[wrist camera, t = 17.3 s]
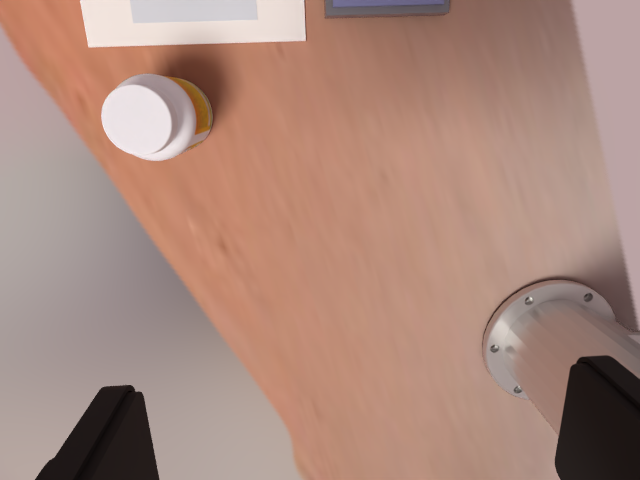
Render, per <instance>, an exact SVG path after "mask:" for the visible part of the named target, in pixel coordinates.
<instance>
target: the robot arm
mask: <svg viewBox="0 0 640 480" xmlns="http://www.w3.org/2000/svg"><path fill="white" fill-rule="evenodd" d="M482 349H483V359H484V362H485V365H486V368H487V370H488V371H489V373H490V375H491V376H492V378H493V379H494V380H495V382H496V383H497V384H498V385H499V386H500V387H501V388H502V389H504V390H505V391H506V392H508V393H509V394H511V395H513V396H515V397H519V398H522V399H526V400H531V402H532V403H533V404H534V405H535V407H536V408H537V409H538V410H539V412H540V413H541V414H542V416H543V417H544V418H545V419H546V421H547V422H548V423H549V424H550V426H551V427H552V428H553V430H554V431H555V432H556V433H557V435H558V436H559V438H558V444H557V450H556V456H555V467H556V471H557V473H558V476H559V477H560V479H561V480H640V331H635V332H630V331H629V330H627V329H626V328H624V327H623V326H622V325H620V324H619V323H617V322H616V318H615V315H614V313H613V310H612V308H611V306H610V305H609V304H608V302H607V301H606V300H605V299H604V298H603V297H602V296H601V295H600V294H598V293H597V292H596V291H594V290H592V289H591V288H589V287H587V286H586V285H583V284H580V283H578V282H575V281H568V280H548V281H544V282H540V283H536V284H533V285H531V286H529V287H526V288H524V289H522V290H520V291H519V292H517V293H516V294H514V295H512V296H511V297H510V298H509V299H508V300H507V301H505V302H504V303H503V304H502V305H501V306H500V308H499V309H498V310H497V311H496V312H495V313H494V315H493V317H492V318H491V320H490V322H489V324H488V326H487V329H486V331H485V334H484V339H483V346H482ZM35 480H159V475H158V470H157V465H156V459H155V455H154V449H153V443H152V438H151V433H150V428H149V422H148V417H147V412H146V407H145V401H144V396H143V394H142V392H135V389H134V387H133V386H131V385H123V386H107V387H103V388H101V389H100V390H99V392H98V393H97V395H96V396H95V398H94V399H93V401H92V402H91V404H90V406H89V407H88V409H87V410H86V411H85V413H84V414H83V416H82V417H81V419H80V420H79V422H78V423H77V425H76V426H75V428H74V429H73V431H72V432H71V434H70V435H69V437H68V438H67V440H66V441H65V443H64V444H63V446H62V447H61V449H60V450H59V452H58V453H57V455H56V456H55V458H53V459H52V460H49V462H48V463H47V464H46V465H45V466H44V468H43V469H42V470H41V472H40V473H39V475H38V476H37V478H36V479H35Z"/></svg>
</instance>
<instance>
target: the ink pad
mask: <svg viewBox="0 0 640 480" xmlns="http://www.w3.org/2000/svg"><path fill="white" fill-rule="evenodd" d="M324 2H325V18H361V17H397V16H433V15H445V14H447V13H449V4H450V0H324Z"/></svg>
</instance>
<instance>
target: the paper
mask: <svg viewBox="0 0 640 480" xmlns="http://www.w3.org/2000/svg"><path fill="white" fill-rule="evenodd" d="M80 3H81V8H82V14H83V19H84V25H85V30H86V36H87V41H88V47H122V46H156V45H189V44H223V43H256V42H289V41H306V32H305V8H304V0H80Z"/></svg>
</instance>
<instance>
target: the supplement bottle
mask: <svg viewBox="0 0 640 480" xmlns="http://www.w3.org/2000/svg"><path fill="white" fill-rule="evenodd" d="M101 118H102V124H103V128H104V130H105V132H106V134H107V136H108V138H109V139H110V140H111V141H112V142H113V143H114V144H115V145H116V146H117V147H118V148H119V149H121V150H123V151H125V152H127V153H130V154H133V155H135V156H137V157H139V158H142V159H146V160H152V161H162V160H167V159H170V158H173V157H176V156H178V155H180V154H182V153H184V152H186V151H188V150H190V149H192V148H194V147H196V146H198V145H199V144H200V143H202V142H203V141H204V140H205V138H206V137H207V136H208V134H209V132H210V130H211V126H212V120H213V115H212V108H211V105H210V103H209V100H208V98H207V97H206V95H205V94H204V93H203V92H202V90H201V89H199V88H198V87H197V86H196V85H194V84H193V83H191V82H189V81H187V80H184V79H180V78H174V77H168V76H162V75H156V74H139V75H135V76H132V77H130V78H128V79H126V80H124V81H123V82H122V83H121V84H120V85H118V87H117V88H116V89H115V90H113V91H112V92H111V93H110V94H109V95H108V97H107V98H106V99H105V102H104V104H103V107H102V114H101Z"/></svg>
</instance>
